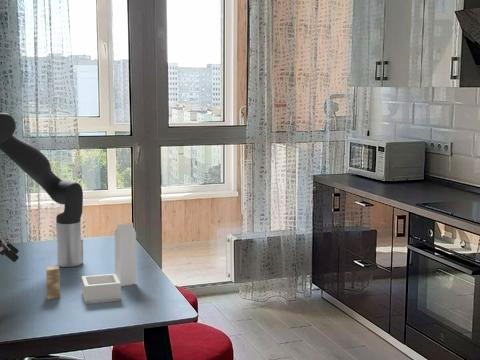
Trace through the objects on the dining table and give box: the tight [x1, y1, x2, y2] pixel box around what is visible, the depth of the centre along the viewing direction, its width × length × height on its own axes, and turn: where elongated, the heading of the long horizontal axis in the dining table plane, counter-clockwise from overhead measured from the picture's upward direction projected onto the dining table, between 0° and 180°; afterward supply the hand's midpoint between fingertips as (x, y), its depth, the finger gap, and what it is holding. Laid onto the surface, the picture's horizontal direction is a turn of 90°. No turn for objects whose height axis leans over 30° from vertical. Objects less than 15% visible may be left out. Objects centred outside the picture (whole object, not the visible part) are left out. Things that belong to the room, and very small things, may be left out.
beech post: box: [45, 265, 61, 300], centre depth 204 cm, size 4×4×10 cm
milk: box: [114, 222, 137, 287], centre depth 219 cm, size 6×6×22 cm
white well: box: [81, 273, 122, 305], centre depth 204 cm, size 11×11×6 cm
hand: (16, 256), depth 198 cm, fingers open, 8 cm apart
